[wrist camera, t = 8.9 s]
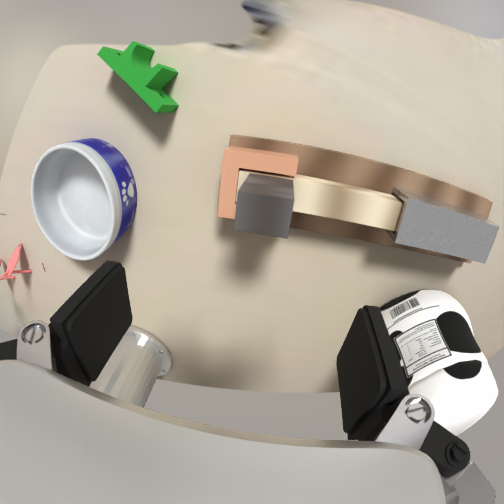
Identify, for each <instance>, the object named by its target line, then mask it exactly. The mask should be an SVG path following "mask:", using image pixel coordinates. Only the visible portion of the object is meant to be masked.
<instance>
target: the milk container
mask: <svg viewBox="0 0 504 504" xmlns="http://www.w3.org/2000/svg"><path fill="white" fill-rule="evenodd" d="M381 313H382V316H383V319H384V321H385V324H386V327H387V330H388V332H389V335H390V338H391V341H392V342H393V344H394V346H395V349H396V352H397V355H398V358H399V361H400V364H401V367H402V370H403V373H404V376H405V380H406V383H407V386H408V390H409V393H410V394H420V395H422V396H425V397H426V398H427V399H429V400H430V402H431V403H432V404H433V407H434V409H435V417H434V421H436V422H437V423H438V424H440V425H441V426H443V427H444V428H445V429H447V430H448V431H450V432H451V433H452V434H454V435H455V436H457V435H458V434H460V433H461V432H463V431H464V430H466V429H467V428H469V427H470V426H472V425H473V424H474V423H476V422H477V421H478V420H479V419H480V418H481V417H482V416H484V415H485V414H486V412H487V411H488V410H489V409H490V407H491V406H492V405H493V404H494V402H495V400H496V397H497V395H498V389H497V385H496V382H495V379H494V377H493V374H492V372H491V370H490V368H489V366H488V362H487V360H486V358H485V356H484V354H483V353H482V351H481V350H480V348H479V346H478V344H477V343H476V341H475V338H474V335H473V331H472V327H471V323H470V320H469V317H468V315H467V313H466V311H465V310H464V308H463V307H462V306H461V305H460V304H459V302H458V301H456V300H455V299H454V298H453V297H452V296H450V295H449V294H447V293H445V292H442V291H439V290H431V289H423V290H418V291H414V292H411V293H408V294H405V295H403V296H401V297H399V298H397V299H396V300H394V301H392V302H391V303H389V304H388V305H386V306H385V307H384V308H383V309H382V310H381Z"/></svg>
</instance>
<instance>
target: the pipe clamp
mask: <svg viewBox="0 0 504 504" xmlns="http://www.w3.org/2000/svg"><path fill="white" fill-rule="evenodd" d="M154 52H155V51H154V50H153V49H152V48H150V47H148V46H145V45H142V44H140V43H137V42H134V41H133V42H132V43H131V44H130V45H129V46H128V47H127V49H126V50H125V51H124V52H123V51H119V50H116V49H112V48H108V47H104V46H103V48H102V49H101V50H100V51H99V53H98V55H99V56H100V57H101V58H102V59H103V60H104V61H105V62H106V63H107V64H108V65H109V66H110V67H111V68H112V69H113V70H114V71H115V72H116V73H117V74H118V75H119V76H120V77H121V78H122V79H123V80H124V81H125V82H126V83H127V84H128V85H129V86H130V87H131V88H132V89H133V90H134V91H135V92H136V93H137V94H138V95H139V96H140V97H141V98H142V99H143V100H144V101H145V102H146V104H147V105H148V106H149V107H150V108H151V109H152V110H153V111H154V112H155V113H166V112H173V111H174V110H175V109H176V108H177V107H178V106H179V105H178V104H177V103H176V102H175V101H174V100H173V99H172V98H171V97H170V96H169V95H168V94H167V93H166V92H165V91H164V90H163V88H164V87H165V86H166V85H167V84H168V83H169V82H170V81H171V80H172V79H173V78H174V77H175V76H176V75H177V74H178V72H177V71H176V70H175V69H173V68H170V67H167V66H164V65H161V64H157V65H156V66H154V67H153V68H151V67H150V59H151V56H152V54H153V53H154Z"/></svg>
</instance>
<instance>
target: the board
mask: <svg viewBox="0 0 504 504" xmlns="http://www.w3.org/2000/svg"><path fill="white" fill-rule="evenodd" d="M229 146H234V147H243V148H251V149H258V150H265V151H272V152H279V153H285V154H291V155H297V156H298V166H297V172H296V174H298V175H303V176H309V177H314V178H319V179H324V180H329V181H334V182H339V183H344V184H348V185H353V186H357V187H362V188H366V189H370V190H374V191H378V192H382V193H386V194H390V195H394V196H397V195H396V194H395V193H394V192H393V189H394V187H397V188H401V189H404V190H408V191H411V192H415V193H418V194H421V195H425V196H428V197H431V198H434V199H438V200H441V201H444V202H447V203H450V204H453V205H456V206H459V207H461V208H464V209H467V210H470V211H473V212H475V213H478V214H481V215H483V216H485V217H486V218H488V216H489V213H490V210H491V207H492V203H493V202H491V201H489V200H488V199H486V198H483V197H481V196H479V195H476V194H474V193H471V192H469V191H466V190H464V189H461V188H458V187H456V186H453V185H451V184H448V183H445V182H442V181H439V180H437V179H434V178H431V177H428V176H425V175H422V174H419V173H416V172H412V171H409V170H406V169H403V168H399V167H396V166H392V165H389V164H385V163H382V162H378V161H374V160H370V159H366V158H362V157H358V156H354V155H350V154H346V153H341V152H337V151H332V150H327V149H323V148H318V147H312V146H307V145H302V144H296V143H290V142H284V141H278V140H271V139H264V138H256V137H248V136H240V135H231V136H230V143H229ZM290 227H291V228H297V229H302V230H308V231H314V232H319V233H325V234H331V235H336V236H341V237H347V238H352V239H357V240H363V241H368V242H373V243H378V244H383V245H388V246H393V247H398V248H403V249H407V250H412V251H417V252H422V253H426V254H431V255H436V256H440V257H445V258H449V259H453V260H458V261H462V262H467V263H471V261H472V260H469V259H465V258H460V257H456V256H452V255H448V254H443V253H439V252H435V251H430V250H426V249H421V248H416V247H412V246H407V245H403V244H398V243H394V241H393V240H392V238H391V237H390V236H389V234H388V233H387V232H386V230H385V229H382V228H378V227H373V226H368V225H364V224H359V223H354V222H349V221H344V220H339V219H333V218H328V217H323V216H317V215H312V214H306V213H301V212H295V211H292V217H291V222H290Z"/></svg>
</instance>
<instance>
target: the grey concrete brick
mask: <svg viewBox="0 0 504 504" xmlns="http://www.w3.org/2000/svg"><path fill="white" fill-rule="evenodd" d="M393 192H394V193H395V194H396V195H397V196H398V197H400V198H401V199H402V200H403V201H404V202H405V203H404V206H403V210H402V213H401V216H400V220H399V223H398V226H397V229H396V231H392V230H387V229H385V230H386V232H387V233H388V234H389V236H390V237H391V238H392V240H393V241H394V243H398V244H403V245H407V246H412V247H416V248H421V249H426V250H430V251H435V252H439V253H443V254H448V255H452V256H456V257H460V258H465V259H469V260H473V261H477V262H481V263H485V262H486V260H487V257H488V255H489V253H490V250H491V248H492V245H493V243H494V240H495V237H496V235H497V232H498V229H499V226H498V225H496V224H495V223H493V222H492V221H491V220H489V219H488V218H486V217H485V216H483V215H481V214H478V213H475V212H473V211H470V210H467V209H464V208H461V207H459V206H456V205H453V204H450V203H447V202H444V201H441V200H438V199H434V198H431V197H428V196H425V195H421V194H418V193H415V192H411V191H408V190H404V189H401V188H397V187H394V189H393Z"/></svg>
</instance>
